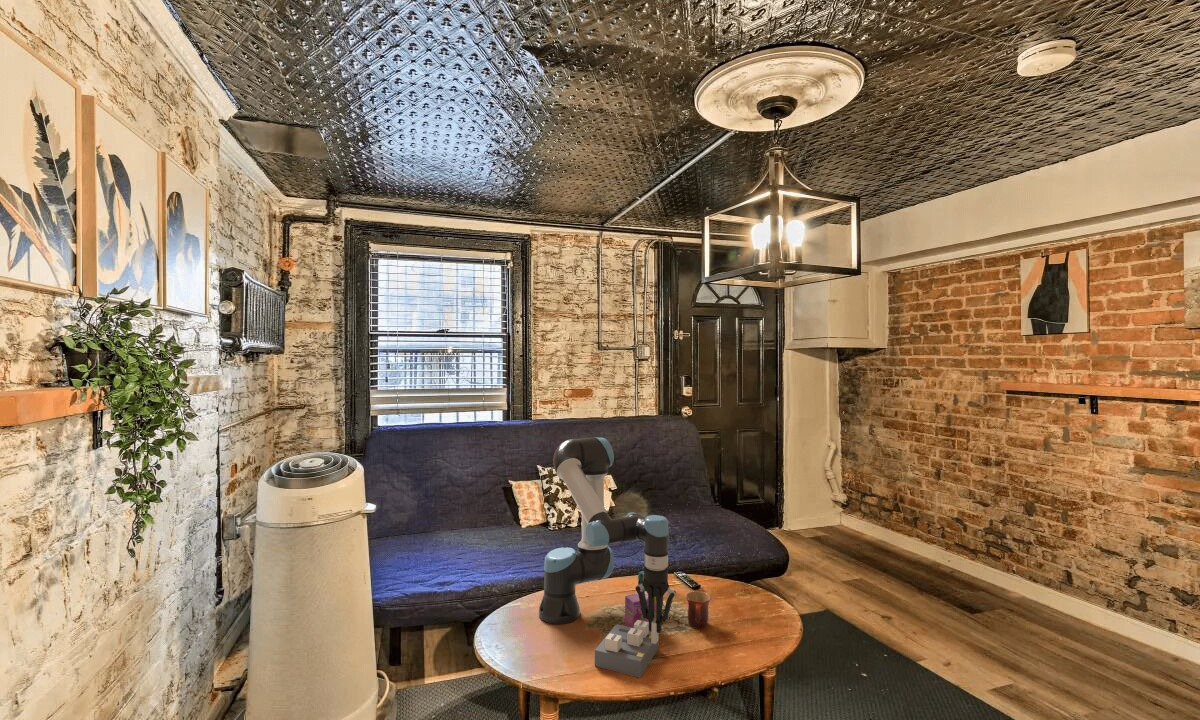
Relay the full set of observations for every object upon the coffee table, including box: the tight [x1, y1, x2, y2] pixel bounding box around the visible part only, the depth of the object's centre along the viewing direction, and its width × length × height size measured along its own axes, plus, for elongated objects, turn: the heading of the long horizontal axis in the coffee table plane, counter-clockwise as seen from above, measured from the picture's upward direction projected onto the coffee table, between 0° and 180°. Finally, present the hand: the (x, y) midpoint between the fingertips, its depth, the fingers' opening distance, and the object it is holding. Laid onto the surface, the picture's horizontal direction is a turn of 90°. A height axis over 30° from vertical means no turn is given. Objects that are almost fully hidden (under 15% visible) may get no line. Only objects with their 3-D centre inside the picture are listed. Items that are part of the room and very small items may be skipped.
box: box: [624, 591, 656, 628], centre depth 194 cm, size 10×6×12 cm, turn 117°
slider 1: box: [605, 633, 622, 652], centre depth 172 cm, size 4×4×4 cm
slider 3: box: [627, 628, 643, 647], centre depth 175 cm, size 4×4×4 cm
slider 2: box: [634, 620, 650, 638], centre depth 181 cm, size 4×4×4 cm
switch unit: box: [594, 624, 659, 679], centre depth 176 cm, size 15×18×5 cm
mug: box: [685, 590, 712, 630], centre depth 196 cm, size 12×9×10 cm
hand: (654, 641), depth 172 cm, fingers closed
